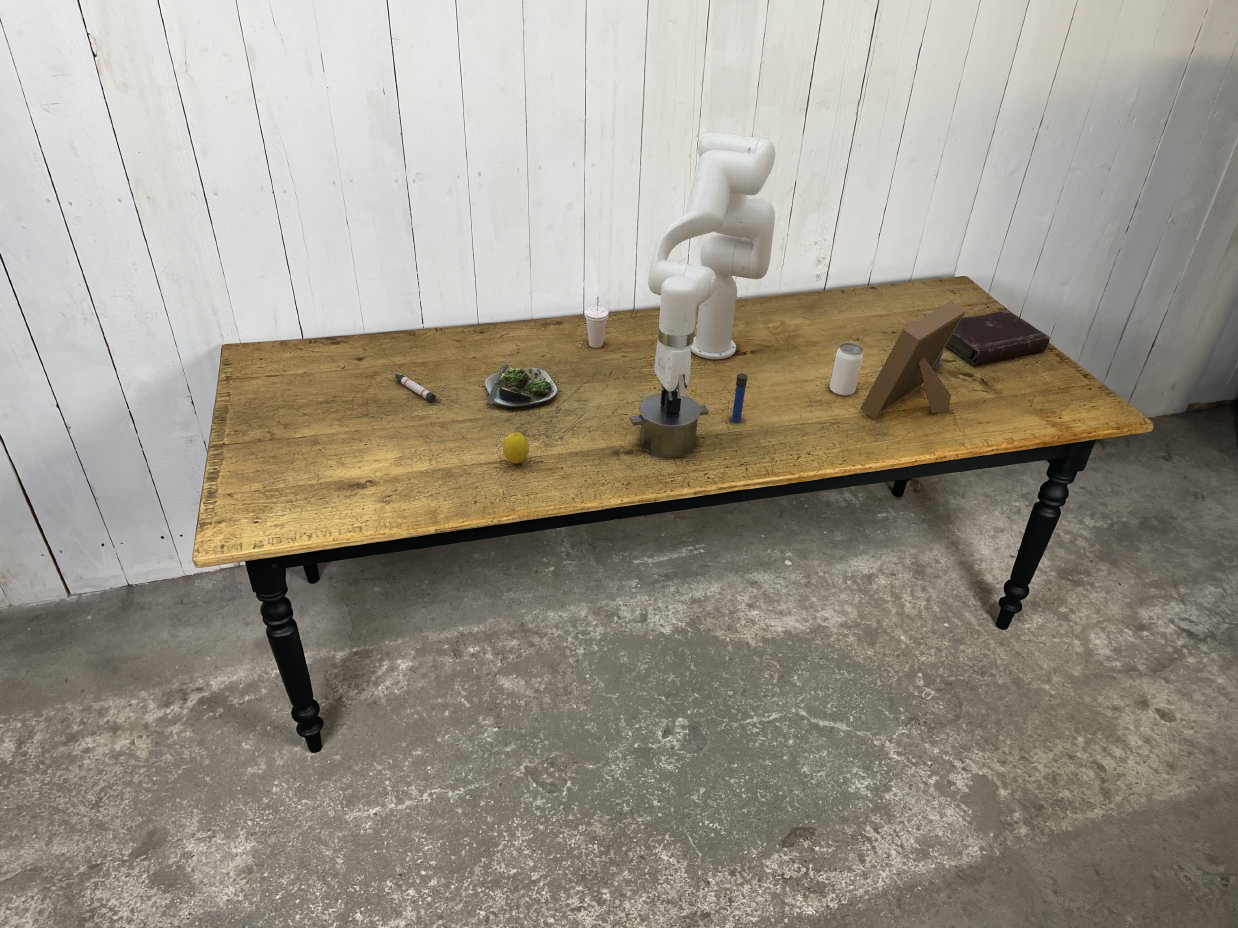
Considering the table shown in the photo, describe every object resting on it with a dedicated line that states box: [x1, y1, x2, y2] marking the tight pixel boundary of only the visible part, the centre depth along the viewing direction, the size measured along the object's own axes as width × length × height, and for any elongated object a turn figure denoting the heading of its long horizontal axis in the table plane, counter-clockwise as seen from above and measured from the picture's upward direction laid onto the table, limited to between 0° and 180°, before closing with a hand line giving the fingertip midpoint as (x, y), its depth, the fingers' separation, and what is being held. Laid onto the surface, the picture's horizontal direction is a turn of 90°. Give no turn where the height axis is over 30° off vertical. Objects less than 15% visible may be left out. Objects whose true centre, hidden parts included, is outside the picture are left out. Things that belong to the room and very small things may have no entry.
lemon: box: [502, 432, 530, 464], centre depth 188 cm, size 6×6×8 cm
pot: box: [629, 404, 709, 459], centre depth 196 cm, size 13×18×8 cm
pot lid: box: [639, 390, 700, 428], centre depth 192 cm, size 14×14×6 cm
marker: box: [394, 373, 437, 403], centre depth 212 cm, size 15×2×2 cm, turn 47°
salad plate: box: [484, 363, 558, 411], centre depth 213 cm, size 19×18×5 cm
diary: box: [945, 309, 1051, 366], centre depth 240 cm, size 19×25×5 cm
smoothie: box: [584, 295, 610, 349], centre depth 230 cm, size 6×6×14 cm
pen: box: [731, 372, 748, 424], centre depth 203 cm, size 2×2×12 cm
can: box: [829, 342, 864, 397], centre depth 216 cm, size 6×6×12 cm
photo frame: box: [859, 300, 967, 420], centre depth 206 cm, size 15×22×25 cm
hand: (670, 407), depth 193 cm, fingers closed on pot lid, 2 cm apart
